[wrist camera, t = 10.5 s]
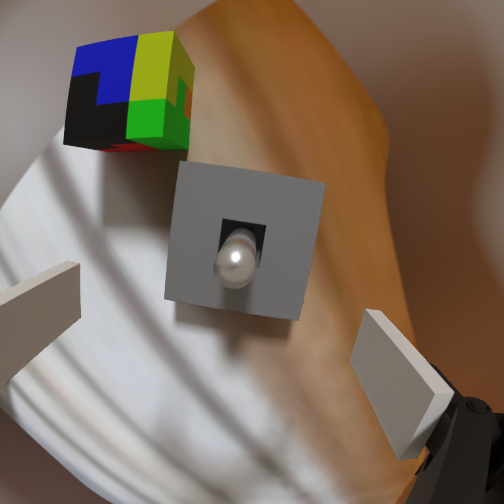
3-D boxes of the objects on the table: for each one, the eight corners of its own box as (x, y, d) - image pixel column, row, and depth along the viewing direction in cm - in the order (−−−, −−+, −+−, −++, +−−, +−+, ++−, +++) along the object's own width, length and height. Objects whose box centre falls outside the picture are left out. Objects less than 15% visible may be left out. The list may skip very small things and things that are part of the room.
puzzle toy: (116, 74, 32) (77, 47, 22) (194, 67, 32) (174, 30, 22) (108, 152, 34) (63, 144, 24) (188, 149, 34) (162, 136, 24)
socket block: (175, 284, 37) (164, 299, 32) (190, 163, 34) (179, 160, 29) (293, 303, 37) (298, 320, 32) (316, 183, 34) (325, 183, 29)
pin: (227, 248, 34) (210, 285, 21) (231, 222, 34) (216, 244, 21) (253, 252, 34) (251, 291, 21) (258, 226, 34) (258, 251, 21)
